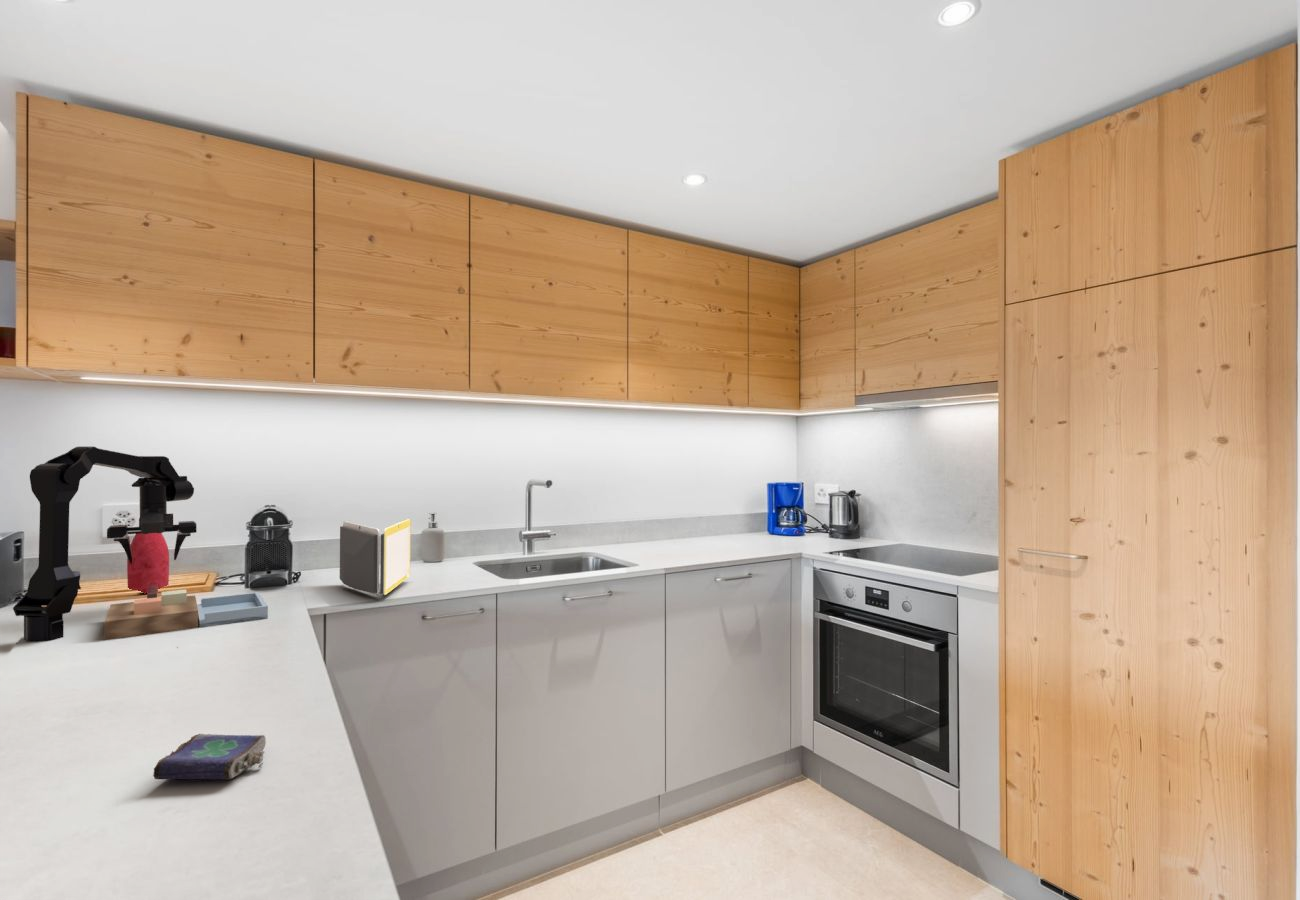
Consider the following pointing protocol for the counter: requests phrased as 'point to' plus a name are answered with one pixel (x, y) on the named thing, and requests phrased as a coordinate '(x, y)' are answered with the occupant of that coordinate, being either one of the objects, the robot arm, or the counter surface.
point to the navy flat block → (212, 757)
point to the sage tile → (173, 597)
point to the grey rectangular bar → (152, 591)
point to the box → (231, 609)
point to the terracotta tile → (147, 605)
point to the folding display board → (374, 556)
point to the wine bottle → (148, 562)
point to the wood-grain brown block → (149, 619)
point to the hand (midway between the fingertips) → (153, 561)
